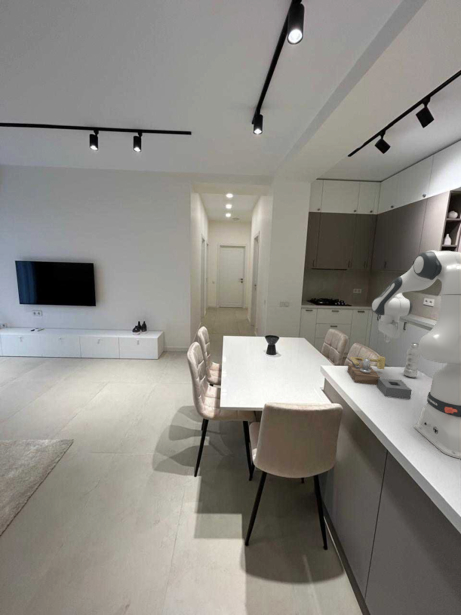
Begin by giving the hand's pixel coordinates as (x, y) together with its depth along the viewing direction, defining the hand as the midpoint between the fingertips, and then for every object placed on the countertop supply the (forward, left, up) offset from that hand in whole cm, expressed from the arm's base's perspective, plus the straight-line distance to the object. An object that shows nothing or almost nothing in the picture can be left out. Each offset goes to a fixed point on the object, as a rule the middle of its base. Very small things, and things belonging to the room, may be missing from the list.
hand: (386, 342), depth 150 cm
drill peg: (-11, +13, -20) cm, 27 cm away
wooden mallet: (-1, +8, -17) cm, 19 cm away
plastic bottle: (+2, -16, -20) cm, 25 cm away
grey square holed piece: (-23, +3, -20) cm, 31 cm away
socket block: (-8, +13, -20) cm, 25 cm away
